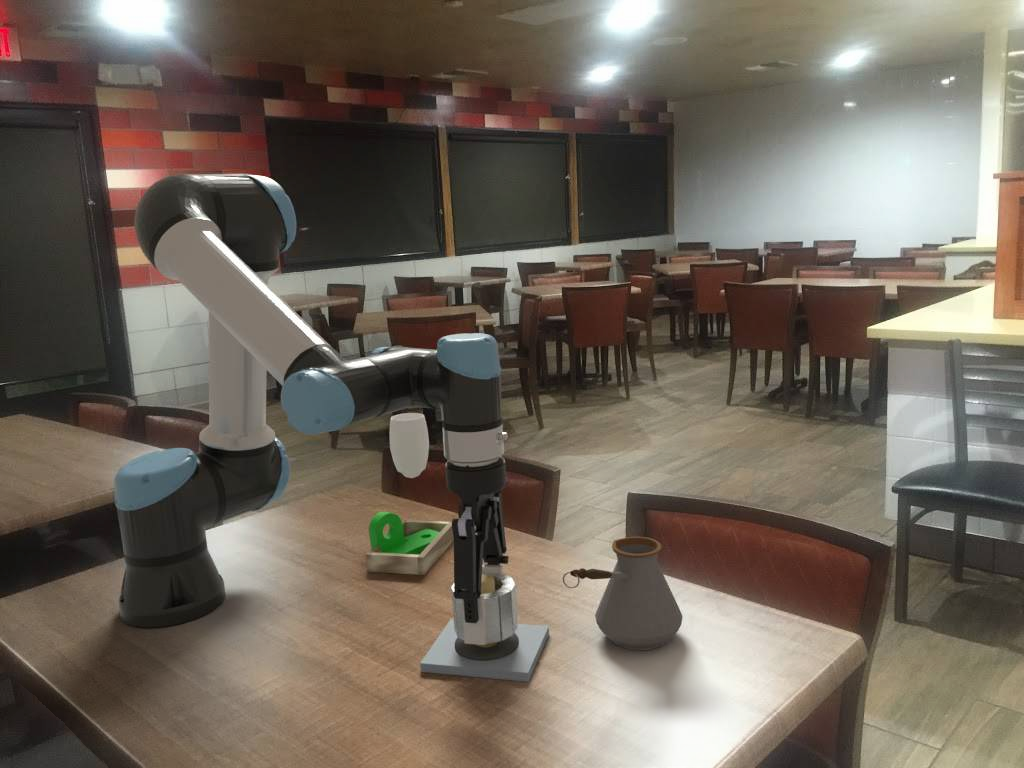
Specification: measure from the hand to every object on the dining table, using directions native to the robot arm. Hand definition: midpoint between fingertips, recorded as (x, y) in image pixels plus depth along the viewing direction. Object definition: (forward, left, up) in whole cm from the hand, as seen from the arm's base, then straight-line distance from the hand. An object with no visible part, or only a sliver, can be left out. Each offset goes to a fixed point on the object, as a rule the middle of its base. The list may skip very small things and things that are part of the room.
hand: (485, 626), depth 109 cm
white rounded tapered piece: (-27, +44, -4) cm, 52 cm away
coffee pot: (+17, +3, -4) cm, 18 cm away
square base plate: (0, 0, -4) cm, 4 cm away
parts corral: (-22, +30, -4) cm, 37 cm away
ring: (0, 0, 0) cm, 0 cm away
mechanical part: (-22, +30, -4) cm, 37 cm away
